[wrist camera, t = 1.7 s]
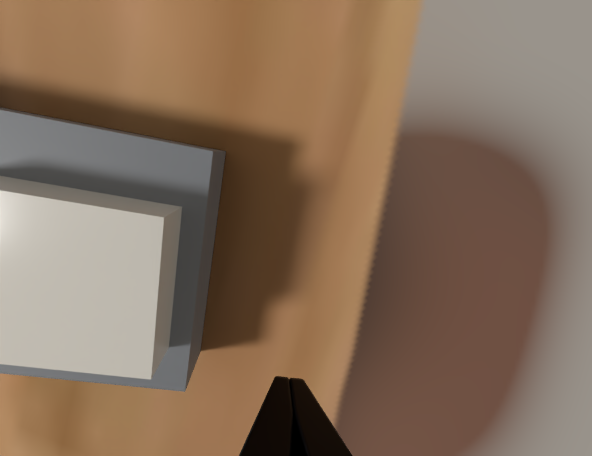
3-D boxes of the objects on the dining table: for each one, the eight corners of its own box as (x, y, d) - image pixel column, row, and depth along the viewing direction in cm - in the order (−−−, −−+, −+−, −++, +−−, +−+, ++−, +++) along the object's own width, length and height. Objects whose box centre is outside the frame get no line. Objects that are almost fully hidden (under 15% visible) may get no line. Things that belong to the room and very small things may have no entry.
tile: (168, 347, 14) (151, 379, 12) (-15, 326, 13) (-66, 357, 11) (182, 206, 12) (163, 217, 10) (-28, 170, 11) (-93, 174, 9)
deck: (200, 351, 17) (184, 391, 14) (-57, 321, 16) (-132, 359, 13) (225, 151, 14) (212, 151, 11) (-87, 89, 13) (-193, 72, 10)
